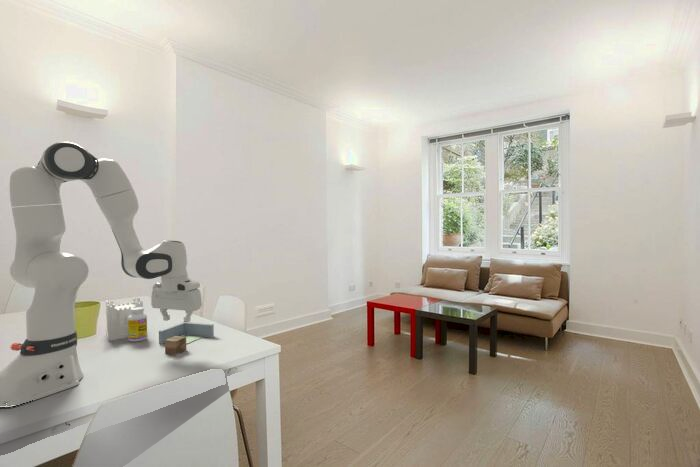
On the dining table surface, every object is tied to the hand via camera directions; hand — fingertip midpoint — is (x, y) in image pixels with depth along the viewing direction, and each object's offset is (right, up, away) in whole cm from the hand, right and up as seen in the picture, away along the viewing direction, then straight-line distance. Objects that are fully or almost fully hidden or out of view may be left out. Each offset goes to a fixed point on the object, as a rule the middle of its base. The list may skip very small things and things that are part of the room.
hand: (176, 321), depth 132 cm
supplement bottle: (-23, -11, +14) cm, 29 cm away
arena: (-2, -11, +14) cm, 18 cm away
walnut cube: (0, -11, 0) cm, 11 cm away
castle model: (-34, -11, +23) cm, 42 cm away
